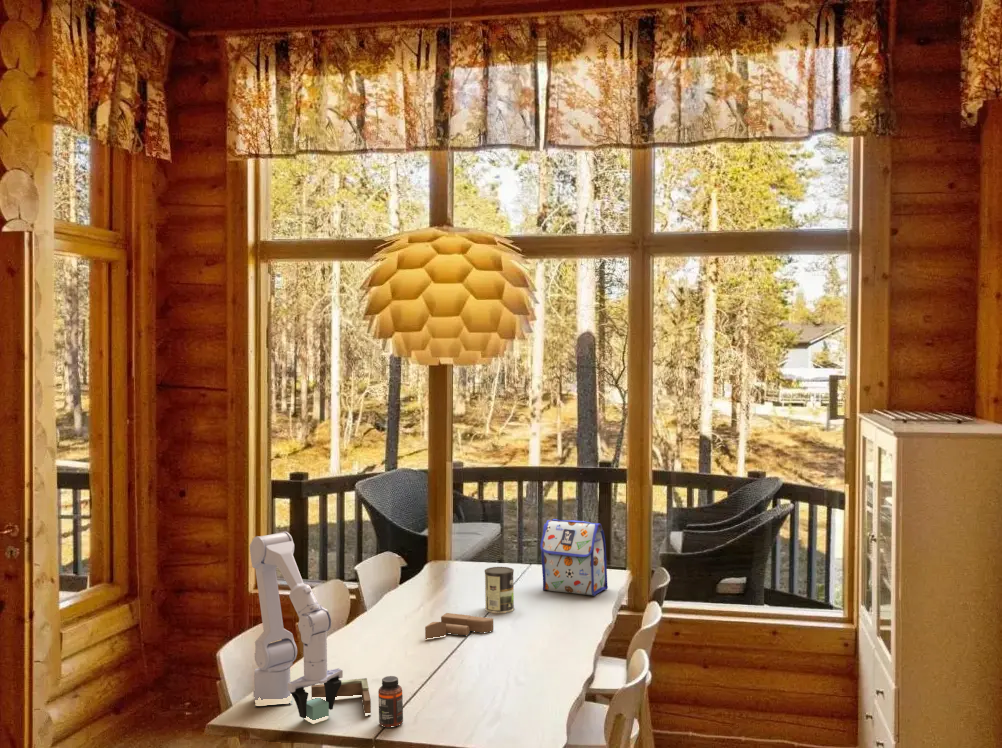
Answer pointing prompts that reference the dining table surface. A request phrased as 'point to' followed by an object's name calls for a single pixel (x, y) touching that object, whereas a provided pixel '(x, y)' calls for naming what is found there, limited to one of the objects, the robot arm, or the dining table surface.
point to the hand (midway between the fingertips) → (316, 712)
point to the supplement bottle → (390, 702)
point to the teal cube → (317, 708)
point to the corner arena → (348, 691)
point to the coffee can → (499, 589)
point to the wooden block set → (458, 625)
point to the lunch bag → (573, 557)
